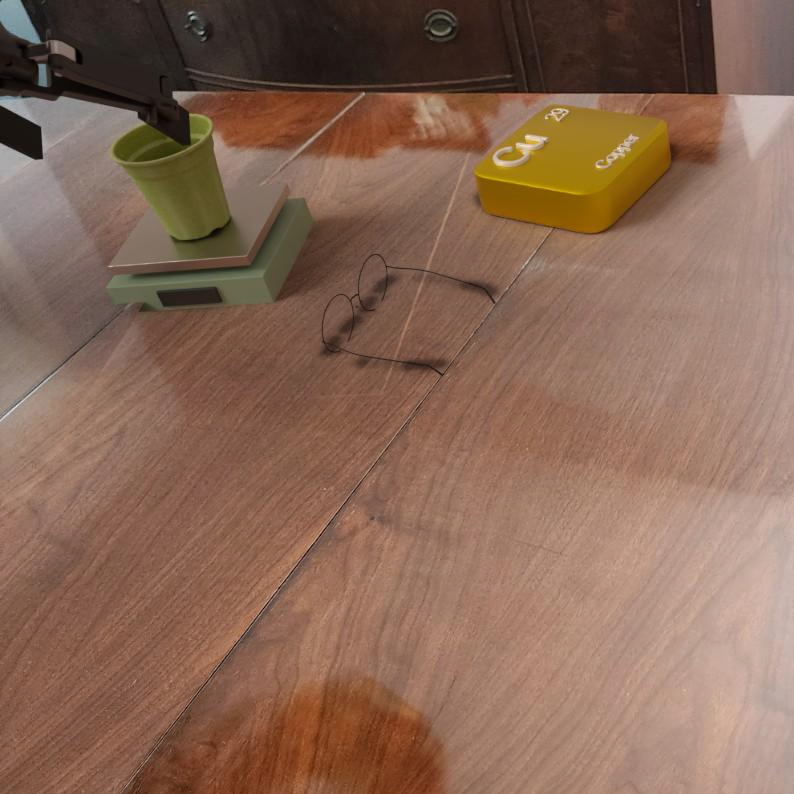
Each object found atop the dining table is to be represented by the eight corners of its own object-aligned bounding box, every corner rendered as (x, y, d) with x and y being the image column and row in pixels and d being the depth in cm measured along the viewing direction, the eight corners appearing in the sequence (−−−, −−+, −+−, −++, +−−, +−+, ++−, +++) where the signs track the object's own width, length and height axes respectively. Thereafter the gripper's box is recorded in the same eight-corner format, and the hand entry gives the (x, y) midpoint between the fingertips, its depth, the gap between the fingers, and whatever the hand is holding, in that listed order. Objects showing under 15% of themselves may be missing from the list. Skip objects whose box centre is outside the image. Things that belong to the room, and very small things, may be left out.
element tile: (601, 238, 104) (594, 190, 101) (474, 213, 111) (462, 167, 107) (679, 160, 112) (674, 113, 108) (555, 141, 118) (547, 96, 115)
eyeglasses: (501, 297, 100) (489, 247, 96) (438, 384, 93) (422, 334, 89) (394, 286, 104) (378, 237, 100) (325, 369, 97) (305, 320, 93)
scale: (118, 316, 108) (99, 281, 105) (171, 236, 117) (154, 201, 114) (273, 305, 105) (258, 269, 102) (314, 224, 114) (301, 188, 111)
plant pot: (162, 208, 111) (122, 122, 104) (254, 191, 110) (219, 105, 104) (143, 258, 104) (98, 171, 98) (240, 241, 104) (202, 152, 97)
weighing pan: (112, 275, 105) (107, 266, 104) (161, 203, 114) (157, 194, 113) (250, 265, 103) (246, 255, 102) (290, 192, 111) (287, 182, 110)
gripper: (-242, 103, 75) (-19, 193, 96) (94, 66, 71) (251, 169, 92) (-251, -12, 75) (-25, 104, 96) (87, -56, 71) (247, 75, 92)
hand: (111, 136), depth 94 cm, fingers open, 13 cm apart
